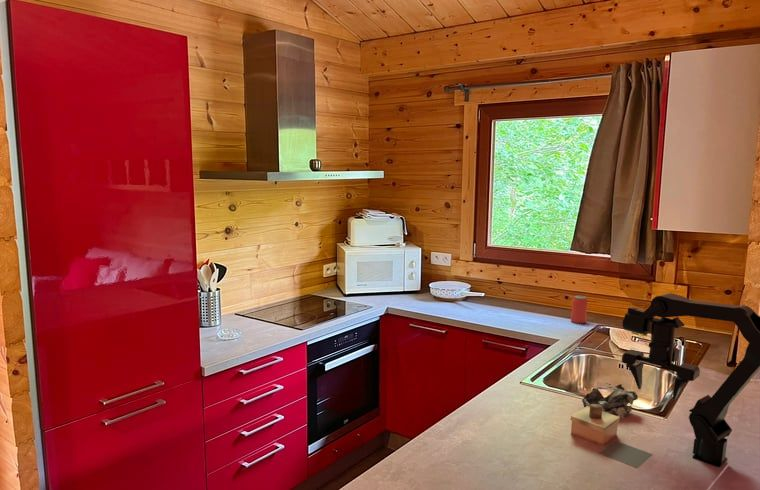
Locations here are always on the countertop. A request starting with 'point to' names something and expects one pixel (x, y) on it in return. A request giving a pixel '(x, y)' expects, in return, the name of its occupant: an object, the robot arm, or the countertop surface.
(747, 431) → the countertop surface
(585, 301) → the beer can
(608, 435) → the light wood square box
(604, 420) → the lid
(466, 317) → the countertop surface
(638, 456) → the mat
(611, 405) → the foil
